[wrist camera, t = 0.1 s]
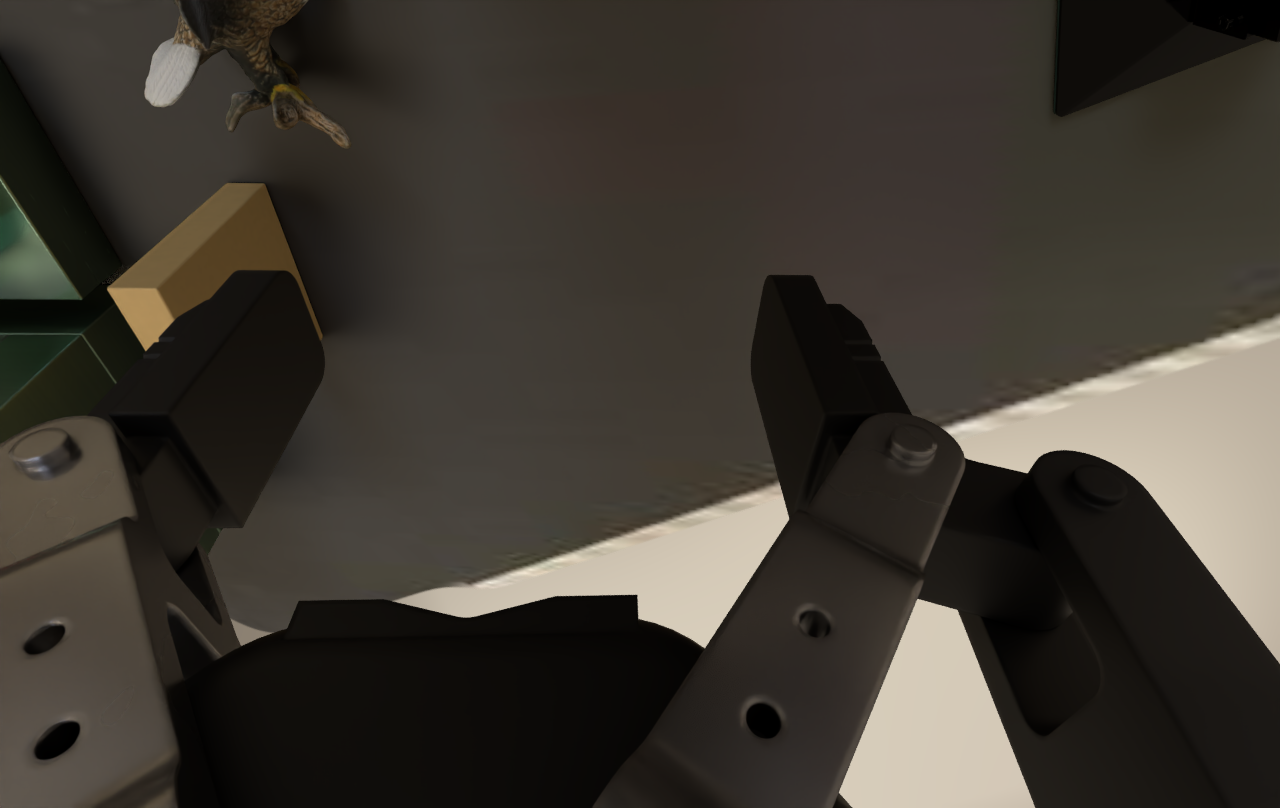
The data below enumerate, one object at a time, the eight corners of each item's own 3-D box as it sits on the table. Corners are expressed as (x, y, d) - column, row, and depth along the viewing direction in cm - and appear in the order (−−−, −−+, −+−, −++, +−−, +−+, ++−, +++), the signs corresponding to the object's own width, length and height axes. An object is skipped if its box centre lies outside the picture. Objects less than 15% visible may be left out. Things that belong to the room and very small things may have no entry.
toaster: (-66, 283, 29) (-301, 434, 21) (135, 284, 29) (-27, 433, 22) (100, 482, 38) (-23, 635, 31) (250, 480, 39) (165, 631, 31)
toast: (226, 182, 26) (104, 288, 20) (265, 182, 26) (156, 288, 20) (291, 336, 32) (212, 459, 25) (323, 336, 32) (252, 458, 25)
